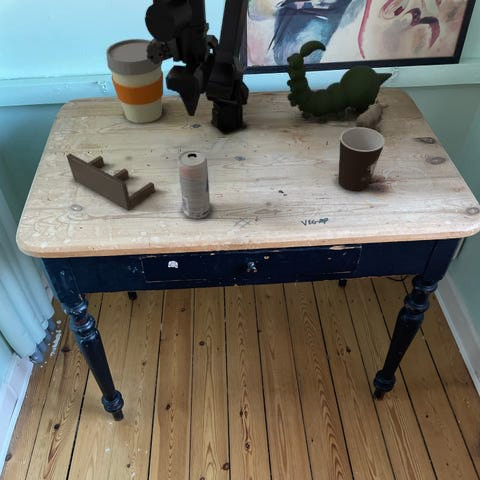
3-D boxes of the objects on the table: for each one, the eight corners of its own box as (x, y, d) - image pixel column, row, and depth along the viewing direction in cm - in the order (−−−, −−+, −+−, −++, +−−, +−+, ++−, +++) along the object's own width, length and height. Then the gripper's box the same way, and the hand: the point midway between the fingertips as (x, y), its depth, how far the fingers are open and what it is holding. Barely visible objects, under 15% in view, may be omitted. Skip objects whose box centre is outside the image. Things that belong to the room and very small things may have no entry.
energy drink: (210, 201, 100) (206, 149, 90) (210, 219, 96) (206, 165, 87) (183, 202, 100) (177, 150, 90) (183, 220, 96) (176, 167, 87)
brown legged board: (101, 163, 109) (95, 138, 104) (155, 191, 102) (151, 166, 97) (74, 180, 105) (66, 155, 100) (128, 210, 98) (122, 185, 94)
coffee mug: (348, 199, 100) (357, 156, 92) (325, 177, 105) (331, 134, 97) (394, 183, 103) (406, 140, 95) (369, 162, 108) (378, 119, 100)
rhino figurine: (389, 120, 119) (395, 96, 114) (364, 146, 112) (370, 121, 107) (374, 115, 121) (379, 91, 116) (348, 140, 114) (353, 116, 109)
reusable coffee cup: (142, 96, 128) (132, 34, 116) (179, 110, 123) (172, 47, 111) (107, 116, 121) (93, 53, 109) (145, 132, 116) (134, 67, 105)
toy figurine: (293, 136, 118) (394, 117, 119) (292, 54, 103) (407, 33, 104) (284, 116, 124) (380, 98, 125) (282, 36, 109) (391, 16, 110)
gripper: (161, -1, 95) (170, 80, 107) (131, 39, 84) (145, 124, 96) (217, 2, 94) (220, 84, 106) (194, 43, 83) (201, 129, 95)
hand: (196, 104), depth 101 cm, fingers open, 9 cm apart
